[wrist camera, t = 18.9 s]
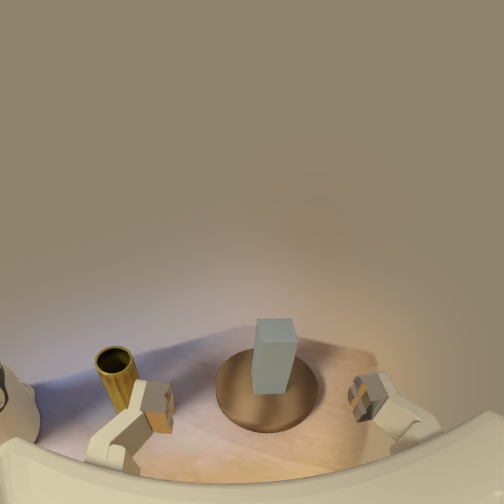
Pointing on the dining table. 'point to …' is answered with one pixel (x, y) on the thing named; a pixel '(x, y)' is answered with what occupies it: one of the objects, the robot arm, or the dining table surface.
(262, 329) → the gray block
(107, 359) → the vase
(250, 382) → the walnut base
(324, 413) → the dining table surface
